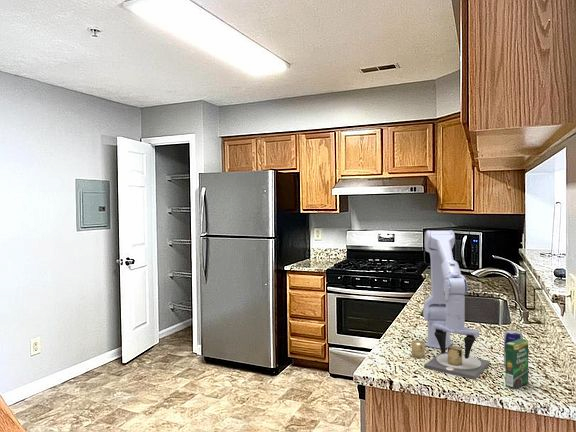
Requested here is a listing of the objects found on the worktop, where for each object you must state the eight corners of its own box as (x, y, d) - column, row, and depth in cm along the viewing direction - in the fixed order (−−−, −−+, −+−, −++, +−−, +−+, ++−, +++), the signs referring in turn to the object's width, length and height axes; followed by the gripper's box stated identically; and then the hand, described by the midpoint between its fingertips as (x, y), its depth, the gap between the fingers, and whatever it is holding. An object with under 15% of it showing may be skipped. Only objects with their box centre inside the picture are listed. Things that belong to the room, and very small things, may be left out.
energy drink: (512, 372, 143) (512, 334, 143) (500, 366, 148) (500, 330, 148) (526, 370, 144) (526, 333, 144) (513, 364, 150) (513, 328, 149)
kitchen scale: (442, 353, 160) (442, 349, 160) (489, 363, 150) (490, 359, 150) (424, 367, 147) (424, 363, 147) (474, 379, 137) (474, 374, 137)
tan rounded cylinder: (414, 353, 161) (414, 339, 161) (426, 355, 159) (426, 341, 158) (409, 356, 158) (409, 342, 158) (421, 359, 155) (421, 345, 155)
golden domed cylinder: (450, 360, 150) (450, 345, 150) (464, 363, 147) (464, 348, 147) (445, 363, 146) (445, 348, 146) (459, 367, 143) (459, 351, 143)
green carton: (513, 389, 129) (514, 345, 129) (504, 386, 132) (504, 342, 132) (529, 383, 134) (529, 340, 133) (519, 380, 136) (520, 337, 136)
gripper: (428, 313, 148) (428, 353, 148) (474, 320, 139) (474, 363, 139) (436, 309, 153) (436, 348, 154) (481, 315, 144) (480, 357, 144)
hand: (454, 355), depth 147 cm, fingers open, 7 cm apart
